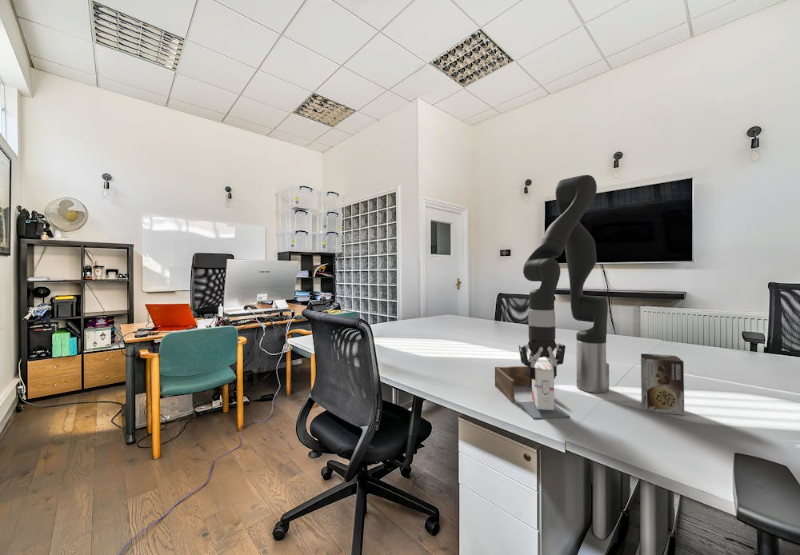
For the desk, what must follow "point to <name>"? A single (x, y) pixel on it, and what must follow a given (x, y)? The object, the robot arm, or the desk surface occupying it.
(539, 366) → the ink cartridge box
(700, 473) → the desk surface
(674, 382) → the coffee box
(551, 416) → the mat
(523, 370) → the open front box
